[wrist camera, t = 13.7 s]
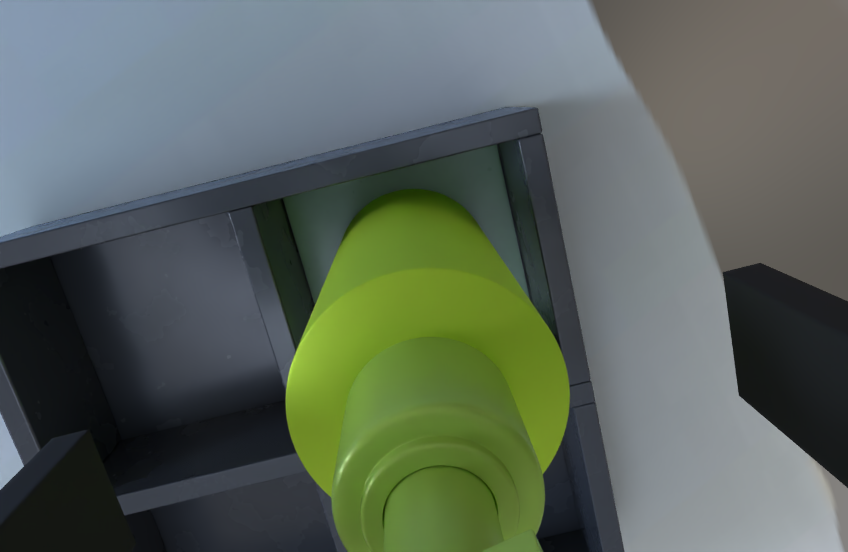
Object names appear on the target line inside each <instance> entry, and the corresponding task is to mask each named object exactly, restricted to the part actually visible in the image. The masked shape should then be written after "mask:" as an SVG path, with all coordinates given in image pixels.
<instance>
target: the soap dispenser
mask: <svg viewBox="0 0 848 552" xmlns="http://www.w3.org/2000/svg"><path fill="white" fill-rule="evenodd" d="M569 404H570V388H569V379H568V373H567V368H566V365H565V361H564V358H563V355H562V353H561V350H560V348H559V345H558V343H557V341H556V339H555V337H554V336H553V334H552V332H551V331H550V329H549V327H548V326H547V324H546V323H545V322H544V320H543V319H542V317H541V316H540V314H539V313H538V311H537V310H536V308H535V307H534V305H533V304H532V303H531V301H530V300H529V298H528V297H527V295H526V294H525V292H524V291H523V289H522V288H521V286H520V285H519V283H518V282H517V281H516V279H515V278H514V276H513V275H512V273H511V272H510V270H509V269H508V267H507V266H506V264H505V263H504V262H503V260H502V259H501V257H500V256H499V254H498V253H497V251H496V250H495V248H494V247H493V245H492V244H491V243H490V241H489V240H488V238H487V237H486V235H485V234H484V232H483V231H482V229H481V228H480V226H479V225H478V224H477V222H476V221H475V219H474V218H473V217H472V215H471V214H470V213H469V212H468V211H467V210H466V209H465V208H464V207H463V206H461V205H460V204H459V203H457V202H456V201H454V200H453V199H451V198H449V197H447V196H445V195H443V194H440V193H437V192H434V191H430V190H424V189H404V190H398V191H394V192H391V193H388V194H385V195H383V196H381V197H379V198H377V199H375V200H373V201H372V202H370V203H369V204H368V205H366V206H365V207H364V208H363V209H362V210H361V211H360V212H359V213H358V214H357V215H356V216H355V217H354V219H353V220H352V221H351V223H350V224H349V226H348V228H347V230H346V232H345V234H344V236H343V239H342V241H341V244H340V246H339V248H338V251H337V253H336V256H335V258H334V261H333V263H332V265H331V268H330V270H329V273H328V275H327V278H326V280H325V282H324V285H323V287H322V290H321V292H320V294H319V297H318V299H317V302H316V304H315V307H314V309H313V311H312V314H311V316H310V319H309V321H308V324H307V326H306V328H305V331H304V333H303V336H302V338H301V341H300V343H299V345H298V348H297V350H296V353H295V355H294V358H293V361H292V364H291V367H290V371H289V375H288V380H287V387H286V417H287V423H288V428H289V432H290V436H291V439H292V442H293V445H294V447H295V450H296V452H297V454H298V456H299V458H300V460H301V462H302V464H303V465H304V467H305V468H306V470H307V472H308V473H309V474H310V476H311V477H312V478H313V479H314V481H315V482H316V483H317V484H318V485H319V486H320V487H321V488H322V489H323V491H325V492H326V493H327V494H328V495H329V496H330V497H331V504H332V513H333V519H334V523H335V527H336V530H337V533H338V535H339V537H340V540H341V541H342V543H343V545H344V547H345V548H346V550H347V551H348V552H543V550H542V548H541V546H540V544H539V541H538V539H537V537H536V534H537V532H538V530H539V527H540V524H541V521H542V517H543V513H544V506H545V486H544V479H543V473H544V472H545V471H546V469H547V468H548V466H549V465H550V463H551V462H552V460H553V458H554V456H555V454H556V452H557V450H558V448H559V446H560V444H561V441H562V438H563V435H564V432H565V429H566V425H567V420H568V414H569Z"/></svg>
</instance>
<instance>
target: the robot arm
mask: <svg viewBox="0 0 848 552" xmlns="http://www.w3.org/2000/svg"><path fill="white" fill-rule="evenodd" d="M723 277H724V285H725V293H726V300H727V308H728V315H729V323H730V331H731V338H732V346H733V354H734V361H735V369H736V376H737V384H738V392H739V396H740V397H741V398H743V399H744V400H745V401H746V402H747V403H748V404H750V405H751V406H752V407H753V408H754V409H756V410H757V411H758V412H759V413H760V414H761V415H763V416H764V417H765V418H766V419H767V420H768V421H770V422H771V423H772V424H773V425H774V426H776V427H777V428H778V429H779V430H780V431H781V432H783V433H784V434H785V435H786V436H787V437H789V438H790V439H791V440H792V441H793V442H794V443H796V444H797V445H798V446H799V447H800V448H801V449H803V450H804V451H805V452H806V453H807V454H809V455H810V456H811V457H812V458H813V459H814V460H816V461H817V462H818V463H819V464H820V465H822V466H823V467H824V468H825V469H826V470H827V471H829V472H830V473H831V474H832V475H833V476H835V477H836V478H837V479H838V480H839V481H840V482H842V483H843V484H844V485H845V486H846V487H847V488H848V301H845V300H843V299H841V298H839V297H836V296H834V295H832V294H829V293H827V292H825V291H823V290H820V289H818V288H816V287H814V286H812V285H809V284H807V283H805V282H802V281H800V280H798V279H796V278H793V277H791V276H789V275H787V274H784V273H782V272H780V271H777V270H775V269H773V268H771V267H768V266H766V265H764V264H761V263H758V264H754V265H750V266H746V267H742V268H738V269H734V270H730V271H726V272H723ZM135 544H136V542H135V539H134V537H133V535H132V532H131V530H130V527H129V525H128V523H127V520H126V518H125V515H124V513H123V511H122V508H121V506H120V503H119V501H118V499H117V496H116V494H115V491H114V489H113V487H112V484H111V482H110V479H109V477H108V475H107V472H106V470H105V467H104V465H103V463H102V460H101V458H100V455H99V453H98V451H97V448H96V446H95V443H94V441H93V439H92V436H91V434H90V431H89V429H88V430H84V431H80V432H76V433H71V434H67V435H63V436H59V437H55V438H52V439H51V440H50V441H49V442H48V443H47V444H46V445H45V446H44V447H43V448H42V449H41V450H40V451H39V452H38V453H37V454H36V455H35V456H34V457H33V458H32V459H31V460H30V461H29V462H28V463H27V464H26V465H25V466H24V467H23V468H22V469H21V470H20V471H19V472H18V473H17V474H16V475H15V476H14V477H13V478H12V479H11V480H10V481H9V482H8V483H7V484H6V485H5V486H4V487H3V488H2V489H1V490H0V552H131V551H132V549H133V547H134V546H135Z"/></svg>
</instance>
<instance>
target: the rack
mask: <svg viewBox="0 0 848 552" xmlns="http://www.w3.org/2000/svg"><path fill="white" fill-rule="evenodd" d="M540 133H542V127H541V122H540V117H539V112H538V109H537V108H530V107H505V108H501V109H497V110H493V111H489V112H485V113H481V114H477V115H473V116H469V117H465V118H461V119H457V120H453V121H449V122H445V123H441V124H437V125H433V126H429V127H425V128H421V129H417V130H413V131H409V132H405V133H401V134H397V135H393V136H389V137H385V138H382V139H378V140H374V141H370V142H366V143H362V144H358V145H354V146H350V147H346V148H342V149H338V150H334V151H330V152H326V153H322V154H318V155H314V156H310V157H306V158H302V159H298V160H294V161H290V162H286V163H282V164H278V165H274V166H270V167H266V168H262V169H259V170H255V171H251V172H247V173H243V174H239V175H235V176H231V177H227V178H223V179H219V180H215V181H211V182H207V183H203V184H199V185H195V186H191V187H187V188H183V189H179V190H175V191H171V192H167V193H163V194H159V195H155V196H151V197H147V198H143V199H139V200H136V201H132V202H128V203H124V204H120V205H116V206H112V207H108V208H104V209H100V210H96V211H92V212H88V213H84V214H80V215H76V216H72V217H68V218H64V219H60V220H56V221H52V222H48V223H44V224H40V225H36V226H32V227H29V228H26V229H23V230H20V231H17V232H14V233H11V234H8V235H5V236H2V237H0V413H1V415H2V417H3V419H4V422H5V424H6V426H7V428H8V431H9V433H10V435H11V437H12V440H13V442H14V444H15V446H16V449H17V451H18V453H19V456H20V458H21V460H22V462H23V465H24V466H25V465H26V464H27V463H28V462H29V461H30V460H31V459H32V458H33V457H34V456H35V455H36V454H37V453H38V452H39V451H40V450H41V449H42V448H43V447H44V446H45V445H46V444H47V443H48V442H49V441H50V440H51V439H52V438H55V437H59V436H63V435H67V434H71V433H76V432H80V431H84V430H88V429H89V431H90V434H91V436H92V439H93V441H94V443H95V446H96V448H97V451H98V453H99V455H100V458H101V460H102V463H103V465H104V467H105V470H106V472H107V475H108V477H109V479H110V482H111V484H112V487H113V489H114V491H115V494H116V496H117V499H118V501H119V503H120V506H121V508H122V511H123V513H124V515H125V518H126V520H127V523H128V525H129V527H130V530H131V532H132V535H133V537H134V539H135V542H136V544H135V546H134V547H133V549H132V551H131V552H348V551H347V550H346V548H345V547H344V545H343V543H342V541H341V540H340V537H339V535H338V533H337V530H336V527H335V523H334V519H333V513H332V504H331V497H330V496H329V495H328V494H327V493H326V492H325V491H323V489H322V488H321V487H320V486H319V485H318V484H317V483H316V482H315V481H314V479H313V478H312V477H311V476H310V474H309V473H308V472H307V470H306V468H305V467H304V465H303V464H302V462H301V460H300V458H299V456H298V454H297V452H296V450H295V447H294V445H293V442H292V439H291V436H290V432H289V428H288V423H287V417H286V387H287V380H288V375H289V371H290V367H291V364H292V361H293V358H294V355H295V353H296V350H297V348H298V345H299V343H300V341H301V338H302V336H303V333H304V331H305V328H306V326H307V324H308V321H309V319H310V316H311V314H312V311H313V309H314V307H315V304H316V302H317V299H318V297H319V294H320V292H321V290H322V287H323V285H324V282H325V280H326V278H327V275H328V273H329V270H330V268H331V265H332V263H333V261H334V258H335V256H336V253H337V251H338V248H339V246H340V244H341V241H342V239H343V236H344V234H345V232H346V230H347V228H348V226H349V224H350V223H351V221H352V220H353V219H354V217H355V216H356V215H357V214H358V213H359V212H360V211H361V210H362V209H363V208H364V207H365V206H366V205H368V204H369V203H370V202H372V201H373V200H375V199H377V198H379V197H381V196H383V195H385V194H388V193H391V192H394V191H398V190H404V189H424V190H430V191H434V192H437V193H440V194H443V195H445V196H447V197H449V198H451V199H453V200H454V201H456V202H457V203H459V204H460V205H461V206H463V207H464V208H465V209H466V210H467V211H468V212H469V213H470V214H471V215H472V217H473V218H474V219H475V221H476V222H477V224H478V225H479V226H480V228H481V229H482V231H483V232H484V234H485V235H486V237H487V238H488V240H489V241H490V243H491V244H492V245H493V247H494V248H495V250H496V251H497V253H498V254H499V256H500V257H501V259H502V260H503V262H504V263H505V264H506V266H507V267H508V269H509V270H510V272H511V273H512V275H513V276H514V278H515V279H516V281H517V282H518V283H519V285H520V286H521V288H522V289H523V291H524V292H525V294H526V295H527V297H528V298H529V300H530V301H531V303H532V304H533V305H534V307H535V308H536V310H537V311H538V313H539V314H540V316H541V317H542V319H543V320H544V322H545V323H546V324H547V326H548V327H549V329H550V331H551V332H552V334H553V336H554V337H555V339H556V341H557V343H558V345H559V348H560V350H561V353H562V355H563V358H564V361H565V365H566V368H567V373H568V379H569V388H570V404H569V414H568V420H567V425H566V429H565V432H564V435H563V438H562V441H561V444H560V446H559V448H558V450H557V452H556V454H555V456H554V458H553V460H552V462H551V463H550V465H549V466H548V468H547V469H546V471H545V472H544V473H543V479H544V486H545V506H544V513H543V517H542V521H541V524H540V527H539V530H538V532H537V534H536V537H537V539H538V541H539V544H540V546H541V548H542V550H543V552H624V547H623V542H622V536H621V531H620V526H619V521H618V516H617V511H616V506H615V501H614V496H613V490H612V485H611V480H610V475H609V470H608V465H607V460H606V455H605V450H604V444H603V439H602V434H601V429H600V424H599V419H598V414H597V409H596V404H595V398H594V393H593V388H592V382H591V381H590V379H591V378H590V373H589V368H588V363H587V358H586V352H585V347H584V342H583V337H582V332H581V327H580V322H579V317H578V312H577V306H576V301H575V296H574V291H573V286H572V281H571V276H570V271H569V266H568V260H567V255H566V250H565V245H564V240H563V235H562V230H561V225H560V220H559V214H558V209H557V204H556V199H555V194H554V189H553V184H552V179H551V174H550V168H549V163H548V158H547V153H546V148H545V143H544V138H543V135H542V134H540Z"/></svg>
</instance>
